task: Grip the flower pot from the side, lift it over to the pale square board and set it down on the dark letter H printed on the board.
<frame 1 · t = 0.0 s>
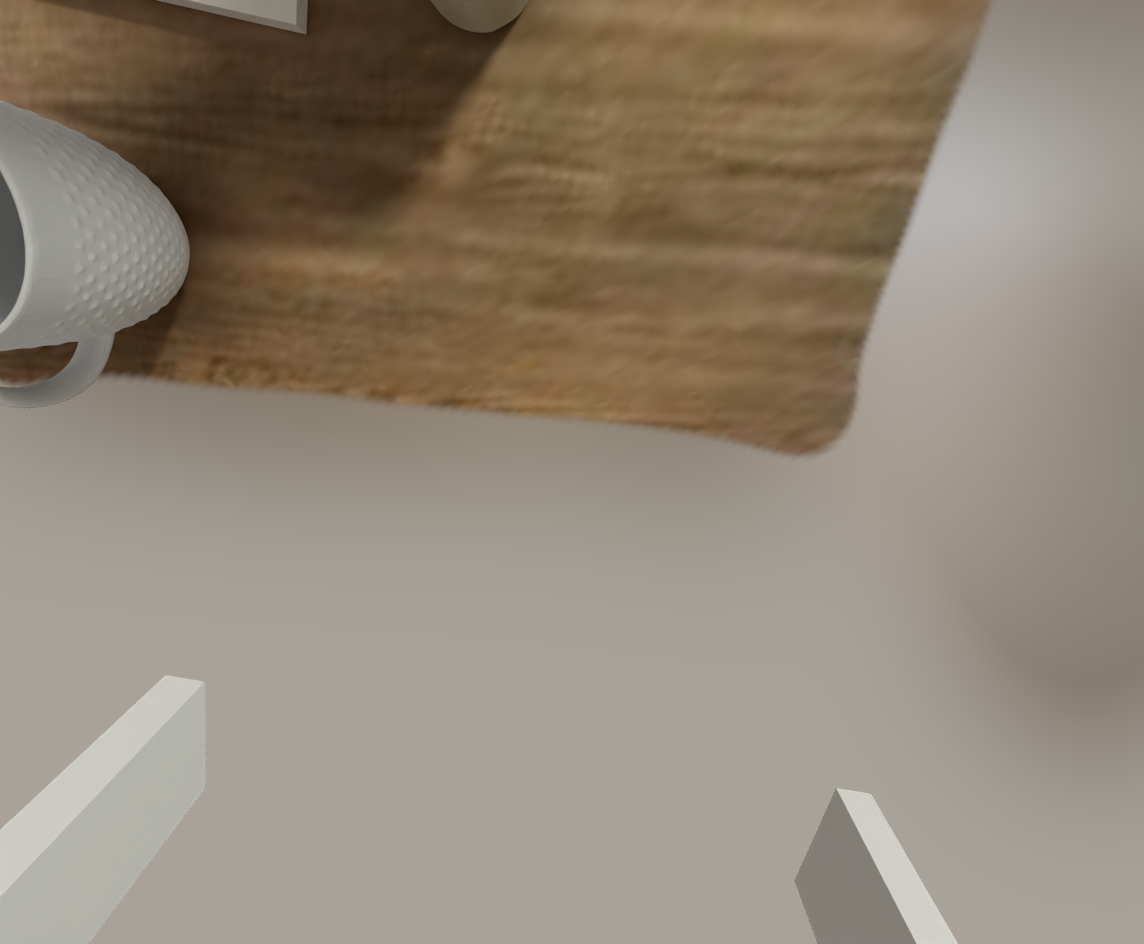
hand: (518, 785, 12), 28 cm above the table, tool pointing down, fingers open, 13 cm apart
mug: (137, 260, 35), on the table
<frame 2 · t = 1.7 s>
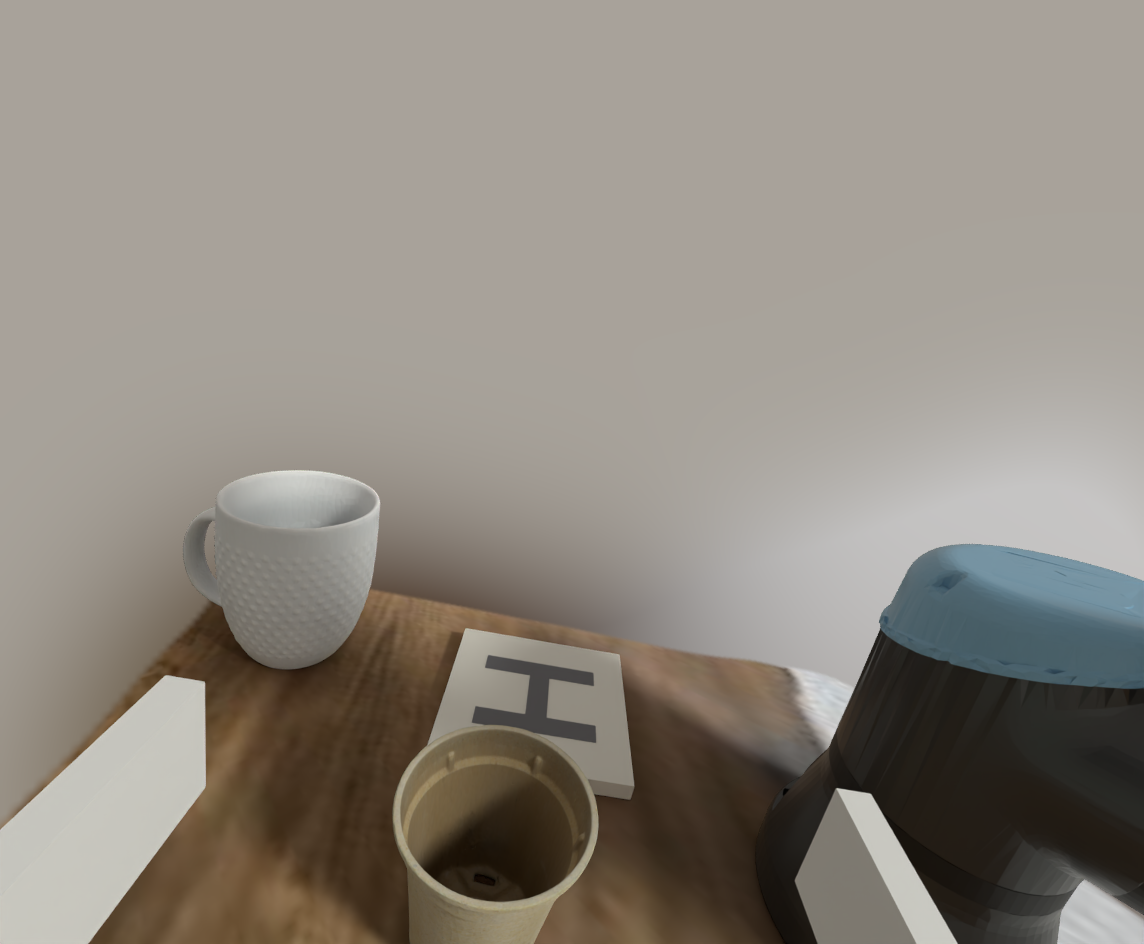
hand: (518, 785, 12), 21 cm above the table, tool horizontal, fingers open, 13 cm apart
flower pot: (473, 929, 29), on the table
letter board: (535, 708, 44), on the table
mug: (284, 642, 46), on the table
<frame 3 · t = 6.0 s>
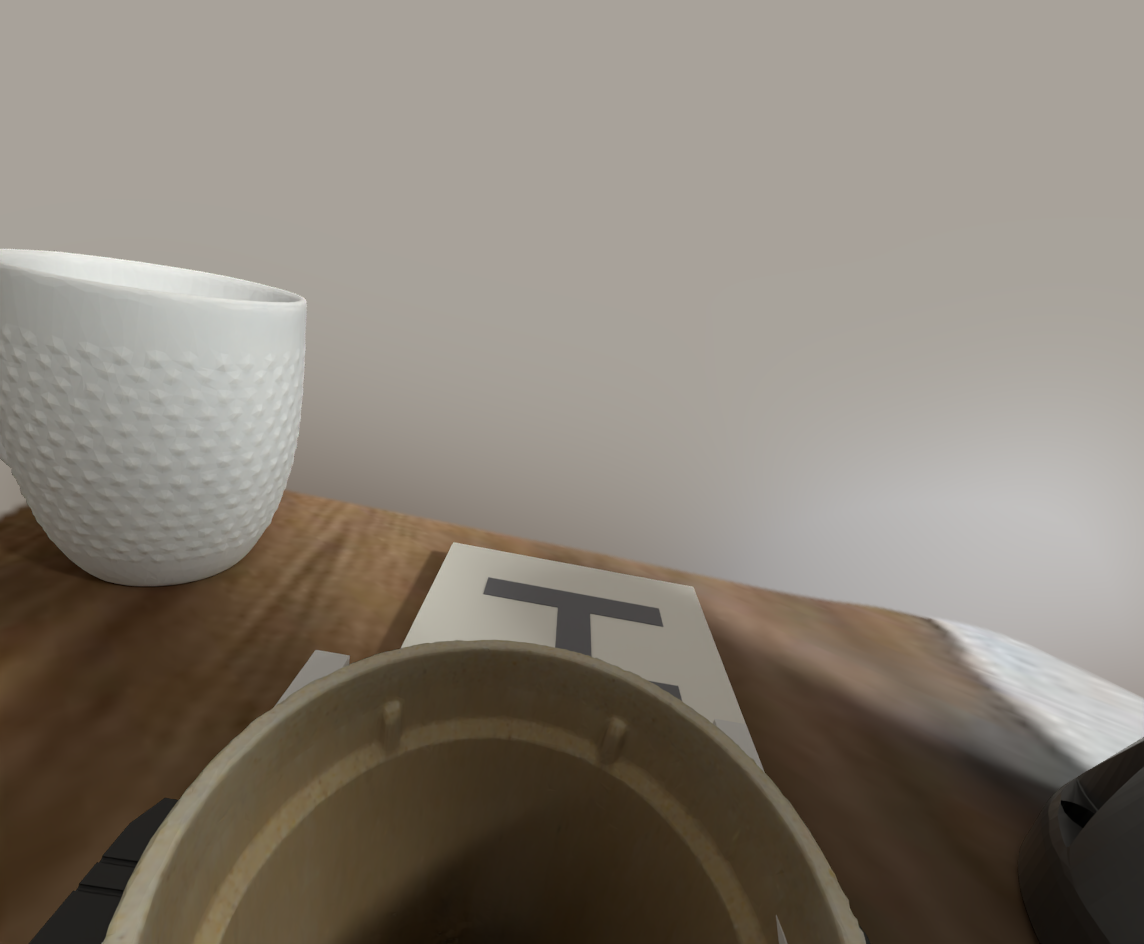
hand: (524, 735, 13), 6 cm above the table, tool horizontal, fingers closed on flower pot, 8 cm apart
letter board: (568, 659, 26), on the table
mug: (151, 550, 28), on the table
when the fingers open (8 cm above the table, at t = 11.1 s): flower pot moves 3 cm, resting on letter board.
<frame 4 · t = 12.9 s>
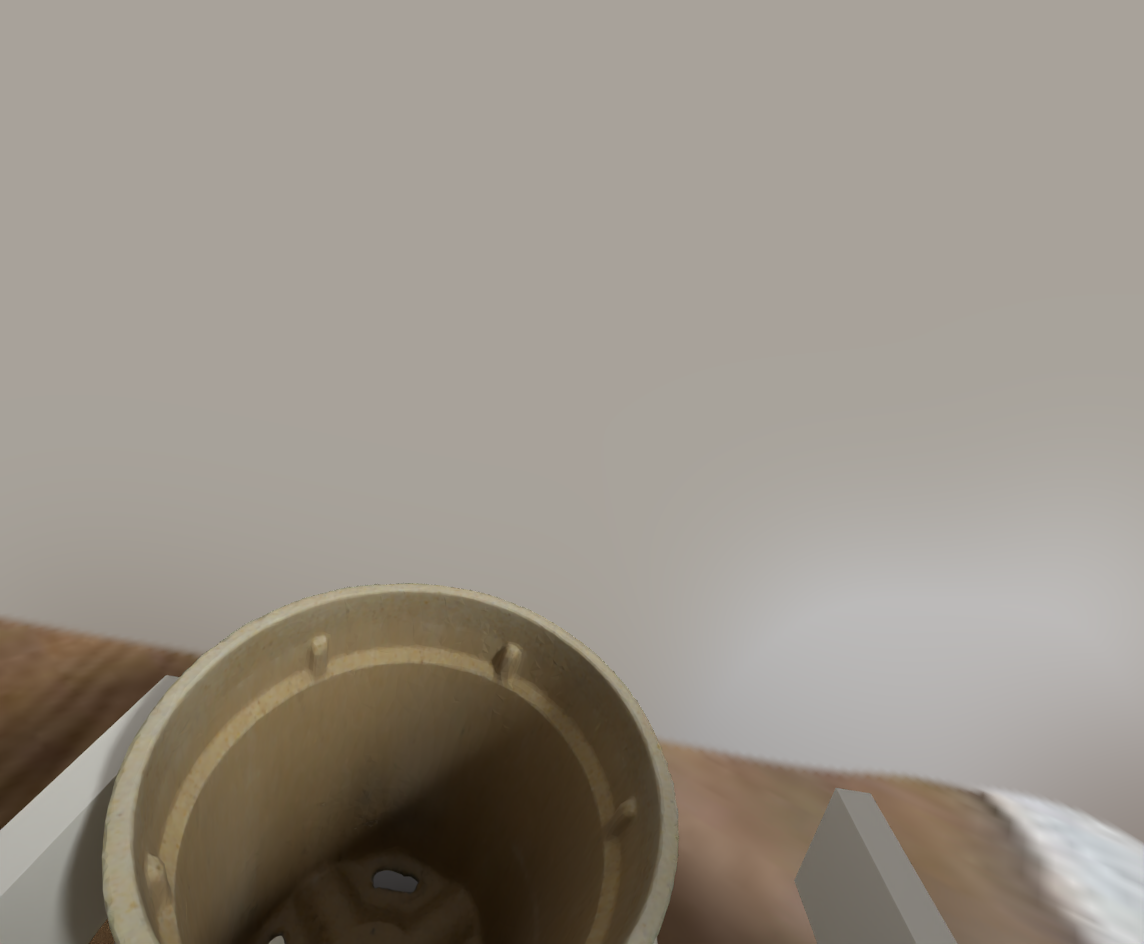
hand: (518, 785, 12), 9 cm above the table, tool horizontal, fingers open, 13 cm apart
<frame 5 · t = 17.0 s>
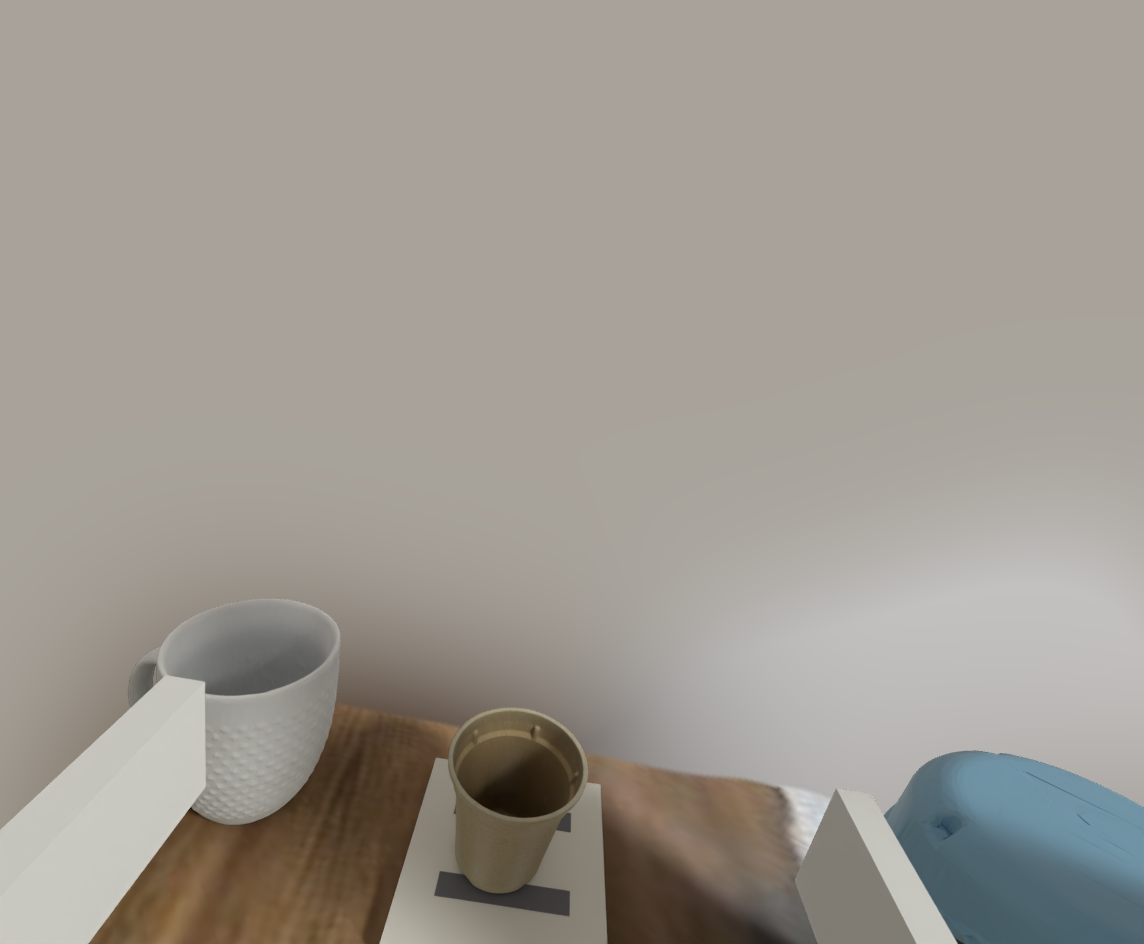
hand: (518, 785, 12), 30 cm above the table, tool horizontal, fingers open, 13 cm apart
flower pot: (499, 852, 40), point 1 cm above the table, touching letter board
letter board: (506, 862, 41), on the table
mug: (238, 783, 43), on the table
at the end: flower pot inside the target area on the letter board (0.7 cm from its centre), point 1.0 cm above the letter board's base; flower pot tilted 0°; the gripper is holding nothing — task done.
